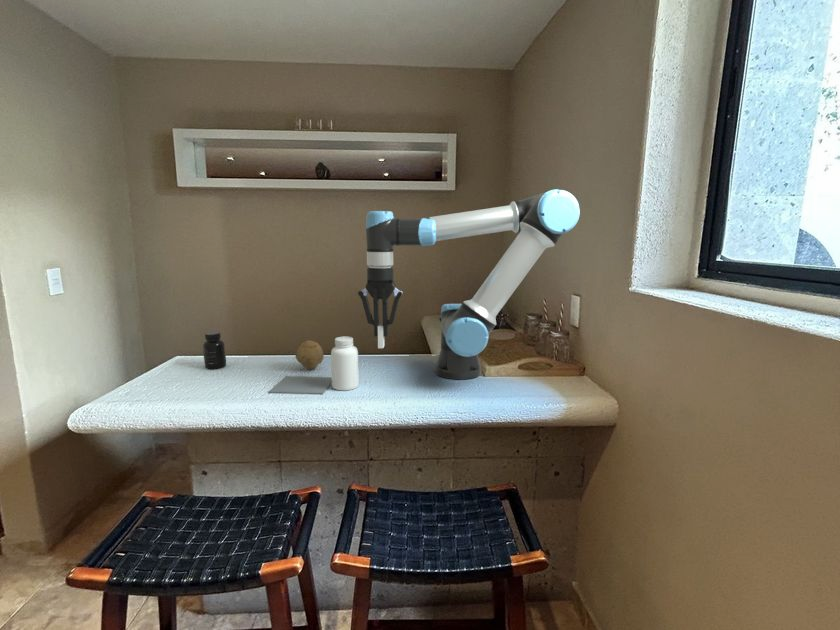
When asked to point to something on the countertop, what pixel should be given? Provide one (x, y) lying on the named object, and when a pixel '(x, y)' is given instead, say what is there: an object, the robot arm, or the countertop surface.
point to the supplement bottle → (214, 351)
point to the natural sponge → (309, 354)
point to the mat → (302, 385)
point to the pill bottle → (344, 364)
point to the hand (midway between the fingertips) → (381, 347)
